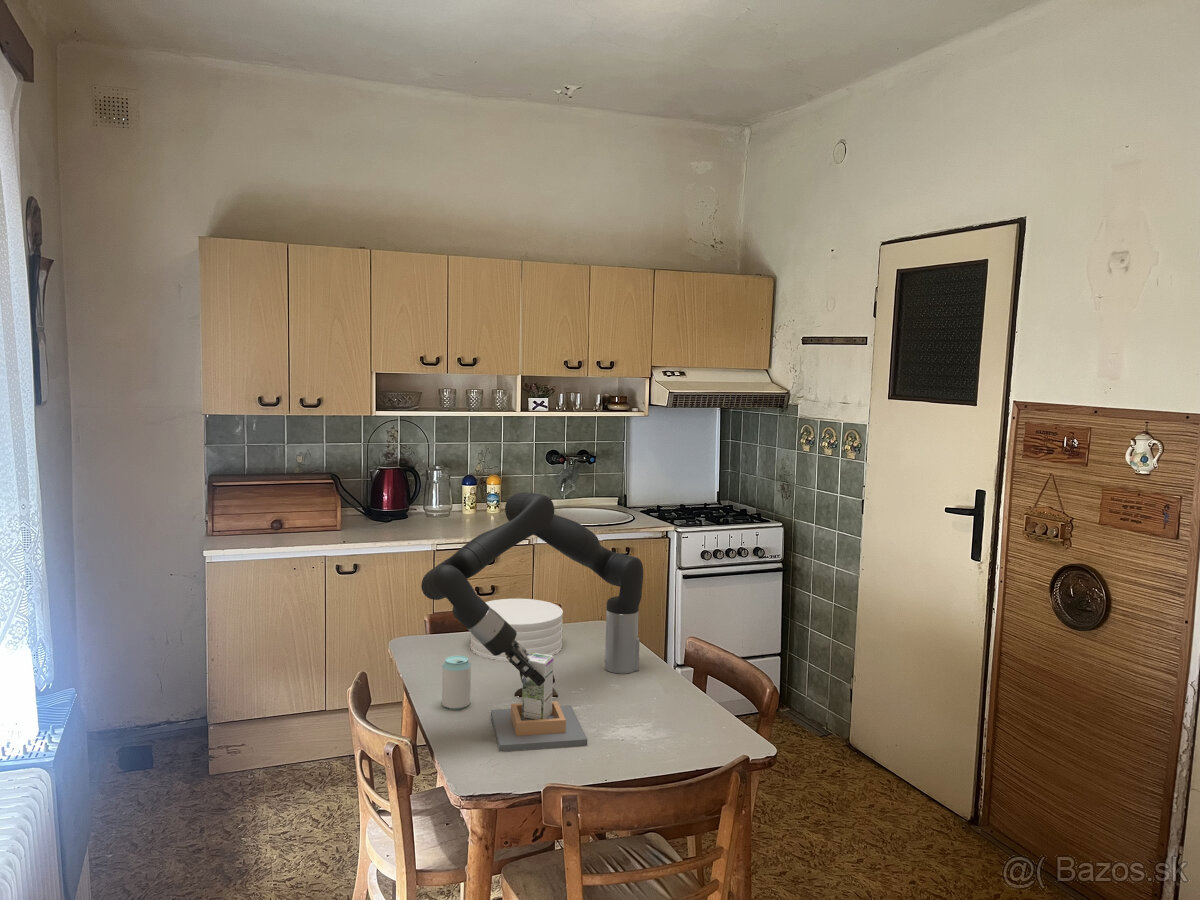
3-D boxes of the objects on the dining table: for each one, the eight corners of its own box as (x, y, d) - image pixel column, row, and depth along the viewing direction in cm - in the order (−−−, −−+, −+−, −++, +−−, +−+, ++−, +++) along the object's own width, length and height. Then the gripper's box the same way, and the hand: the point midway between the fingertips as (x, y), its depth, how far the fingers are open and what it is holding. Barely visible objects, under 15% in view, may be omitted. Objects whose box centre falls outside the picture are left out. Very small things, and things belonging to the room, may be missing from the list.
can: (474, 701, 216) (475, 655, 215) (464, 712, 209) (465, 665, 208) (448, 698, 217) (449, 653, 216) (437, 708, 210) (438, 662, 209)
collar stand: (570, 710, 212) (571, 693, 211) (587, 745, 192) (587, 726, 192) (490, 715, 207) (491, 698, 207) (499, 751, 188) (499, 732, 187)
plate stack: (484, 630, 276) (485, 596, 275) (569, 636, 272) (570, 601, 271) (458, 658, 248) (459, 620, 247) (552, 665, 244) (553, 627, 243)
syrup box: (552, 713, 201) (554, 654, 200) (543, 722, 196) (544, 662, 194) (530, 709, 203) (532, 651, 202) (520, 718, 197) (522, 658, 196)
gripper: (507, 628, 188) (556, 676, 192) (500, 610, 202) (546, 655, 206) (482, 652, 188) (532, 699, 191) (477, 632, 202) (524, 677, 205)
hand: (539, 676), depth 199 cm, fingers closed on syrup box, 8 cm apart
